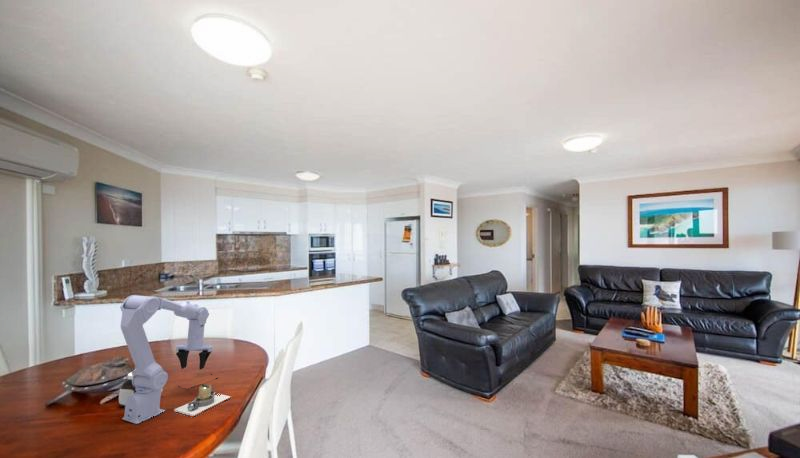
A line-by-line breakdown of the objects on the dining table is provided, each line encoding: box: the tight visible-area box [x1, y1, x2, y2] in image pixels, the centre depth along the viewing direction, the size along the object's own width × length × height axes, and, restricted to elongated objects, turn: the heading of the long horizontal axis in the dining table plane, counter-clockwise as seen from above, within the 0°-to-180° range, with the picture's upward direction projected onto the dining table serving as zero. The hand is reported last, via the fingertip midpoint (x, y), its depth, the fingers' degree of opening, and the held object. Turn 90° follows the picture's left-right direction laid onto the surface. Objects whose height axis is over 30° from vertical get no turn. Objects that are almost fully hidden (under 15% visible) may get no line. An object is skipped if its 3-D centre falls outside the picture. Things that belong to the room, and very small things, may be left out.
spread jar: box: [118, 371, 164, 408], centre depth 123 cm, size 12×11×12 cm
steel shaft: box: [187, 401, 199, 411], centre depth 115 cm, size 3×3×2 cm
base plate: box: [173, 392, 231, 416], centre depth 120 cm, size 16×10×3 cm, turn 161°
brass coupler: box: [197, 383, 212, 402], centre depth 121 cm, size 4×4×7 cm
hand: (192, 368), depth 131 cm, fingers open, 7 cm apart
